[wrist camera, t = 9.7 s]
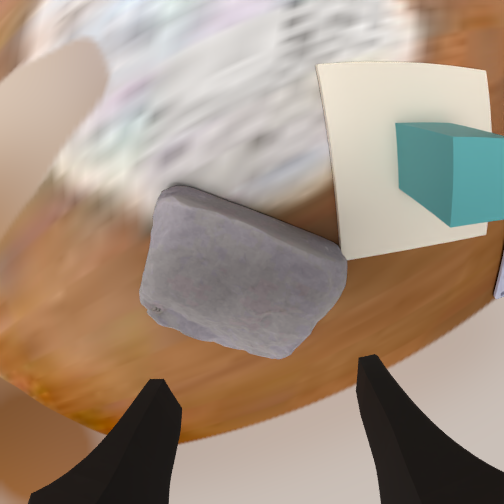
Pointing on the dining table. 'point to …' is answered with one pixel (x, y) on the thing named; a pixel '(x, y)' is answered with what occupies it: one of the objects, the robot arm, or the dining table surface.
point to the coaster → (391, 147)
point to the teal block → (452, 171)
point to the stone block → (237, 274)
